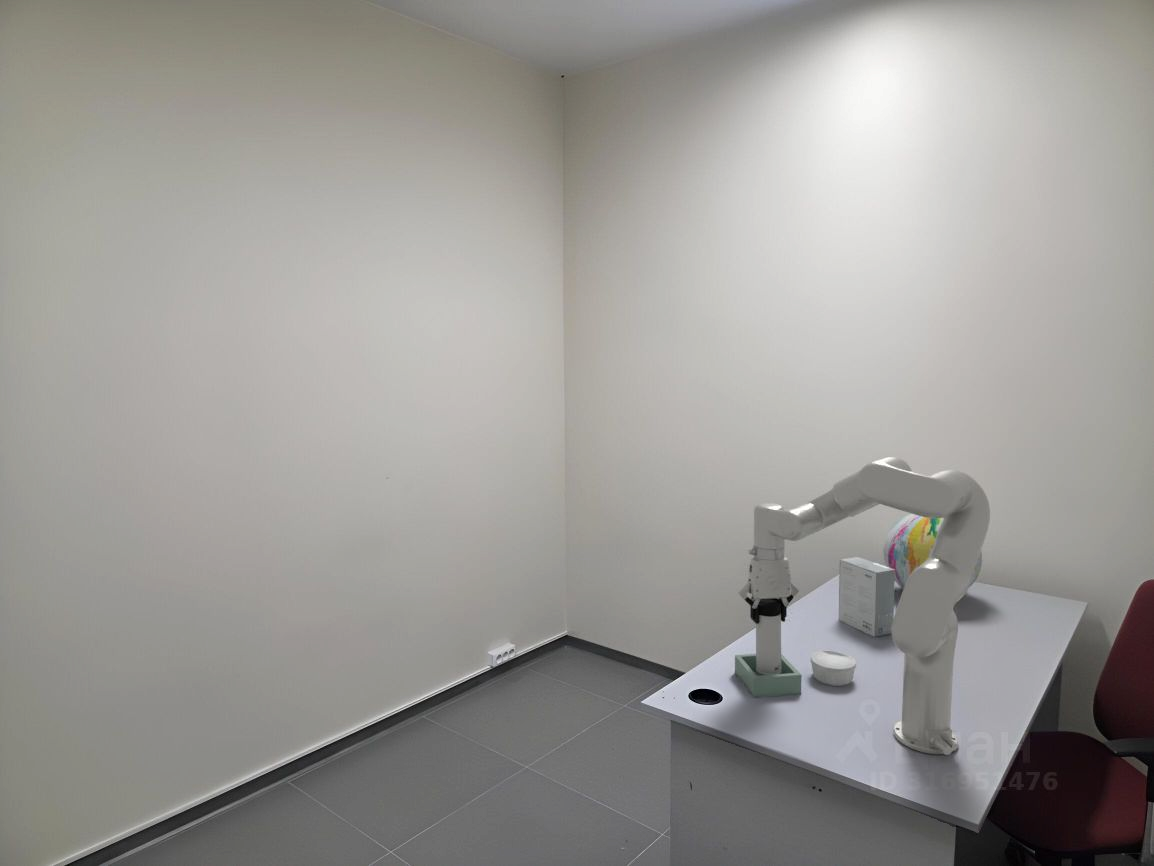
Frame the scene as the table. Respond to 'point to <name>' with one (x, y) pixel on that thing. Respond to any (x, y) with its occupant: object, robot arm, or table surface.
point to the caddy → (767, 678)
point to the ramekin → (833, 667)
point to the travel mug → (768, 637)
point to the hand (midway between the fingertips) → (768, 620)
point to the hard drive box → (866, 596)
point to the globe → (913, 546)
